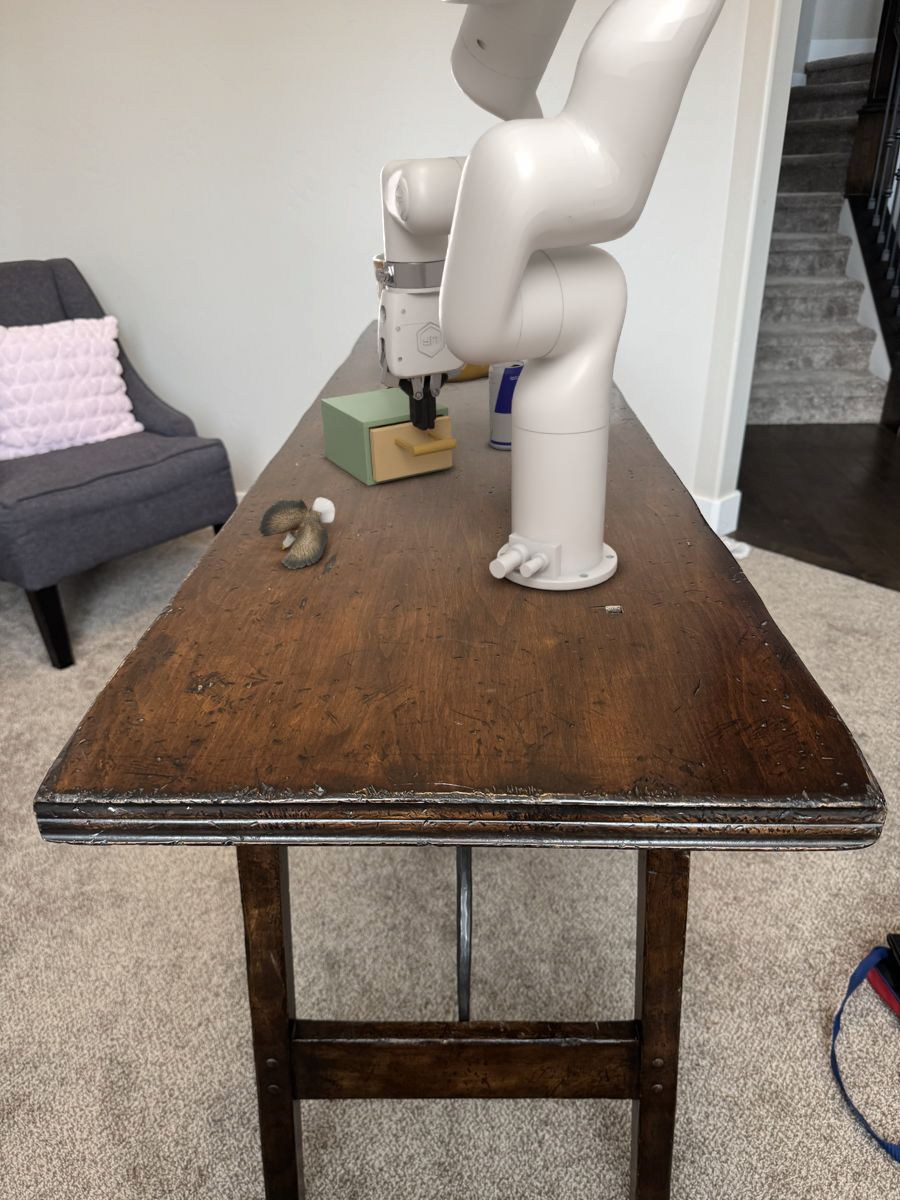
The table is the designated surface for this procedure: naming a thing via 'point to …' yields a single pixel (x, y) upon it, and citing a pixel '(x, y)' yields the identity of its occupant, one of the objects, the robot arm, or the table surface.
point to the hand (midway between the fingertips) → (423, 427)
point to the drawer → (410, 448)
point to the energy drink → (502, 401)
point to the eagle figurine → (299, 528)
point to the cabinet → (363, 427)
